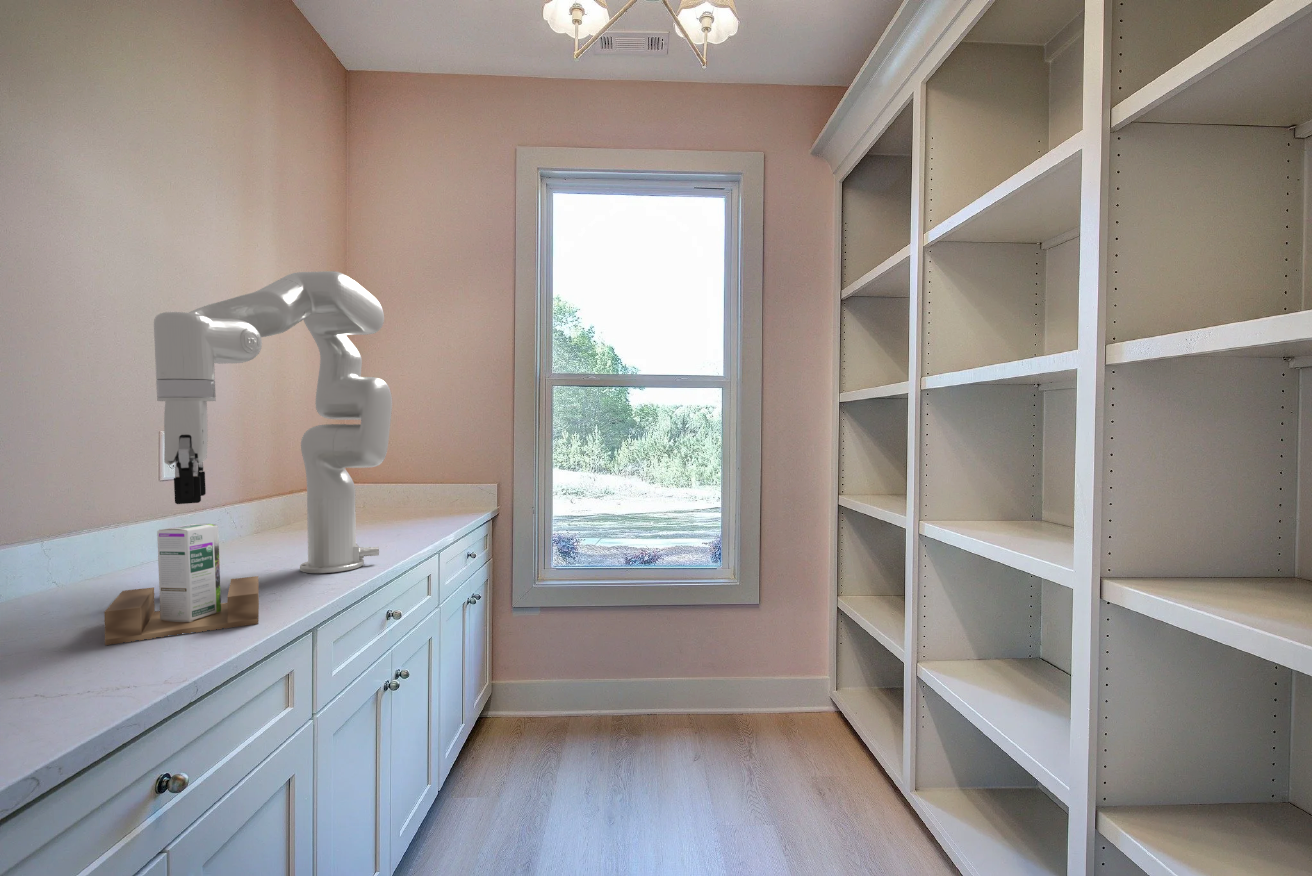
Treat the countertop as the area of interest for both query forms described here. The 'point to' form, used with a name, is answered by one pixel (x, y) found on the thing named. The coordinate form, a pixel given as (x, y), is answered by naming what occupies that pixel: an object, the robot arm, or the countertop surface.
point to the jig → (140, 621)
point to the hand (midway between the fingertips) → (191, 499)
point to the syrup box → (189, 572)
